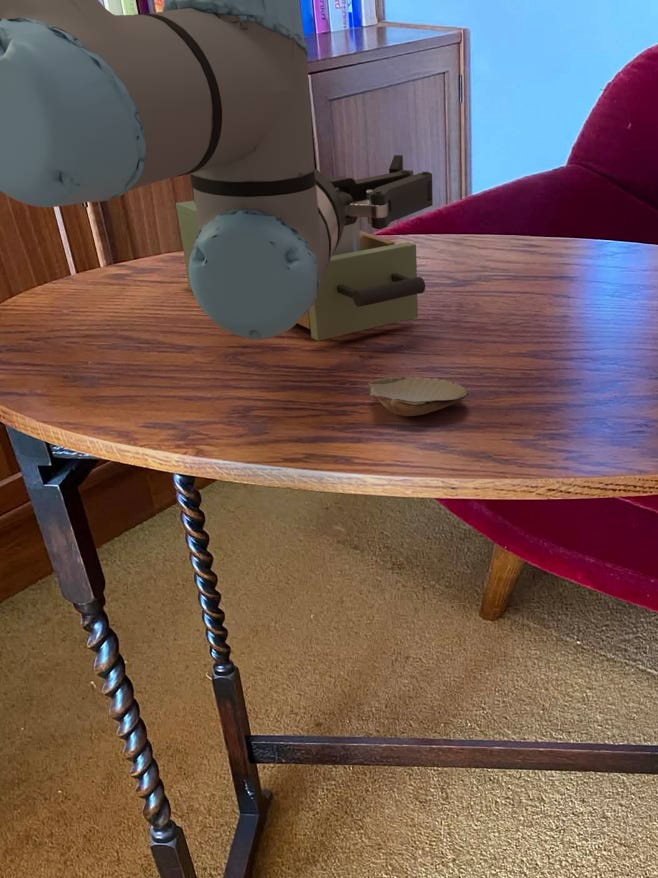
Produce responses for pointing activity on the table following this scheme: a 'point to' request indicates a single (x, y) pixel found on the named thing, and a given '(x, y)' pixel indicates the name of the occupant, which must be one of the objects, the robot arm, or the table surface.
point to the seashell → (416, 394)
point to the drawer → (366, 289)
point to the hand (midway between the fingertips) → (324, 170)
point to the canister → (350, 239)
